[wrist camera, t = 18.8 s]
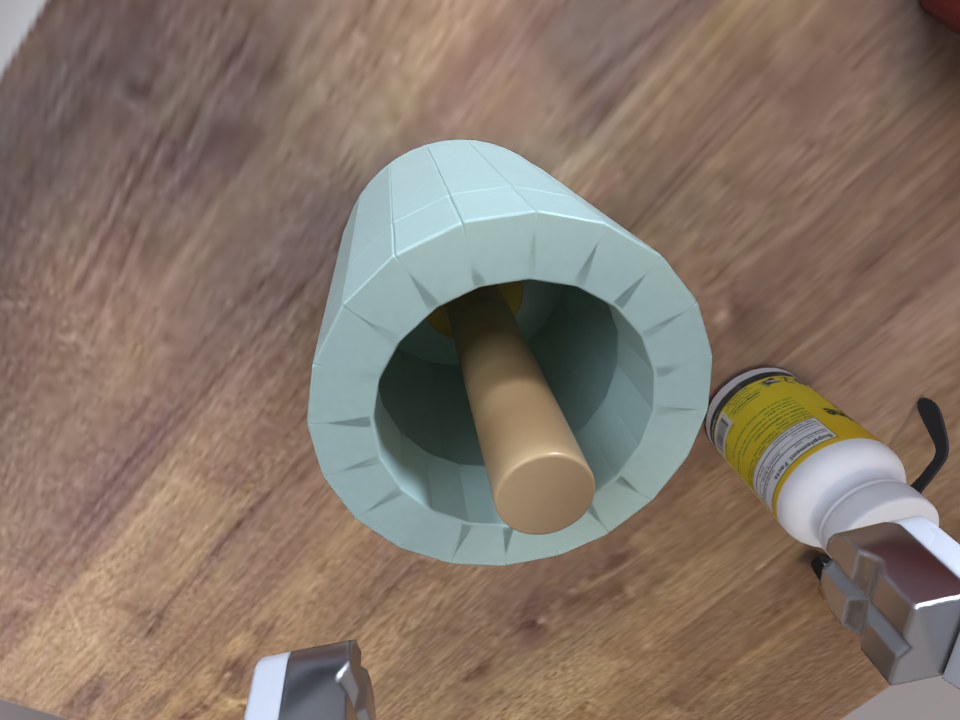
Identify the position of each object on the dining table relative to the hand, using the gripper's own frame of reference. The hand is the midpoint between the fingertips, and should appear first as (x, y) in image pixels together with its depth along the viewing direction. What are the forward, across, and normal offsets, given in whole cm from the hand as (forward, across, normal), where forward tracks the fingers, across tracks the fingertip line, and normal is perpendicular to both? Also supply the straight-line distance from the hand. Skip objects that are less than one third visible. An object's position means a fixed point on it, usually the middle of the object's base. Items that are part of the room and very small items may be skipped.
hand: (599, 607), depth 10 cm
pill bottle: (+21, -16, +13) cm, 29 cm away
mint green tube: (+21, 0, +1) cm, 21 cm away
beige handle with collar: (+20, 0, +1) cm, 20 cm away
